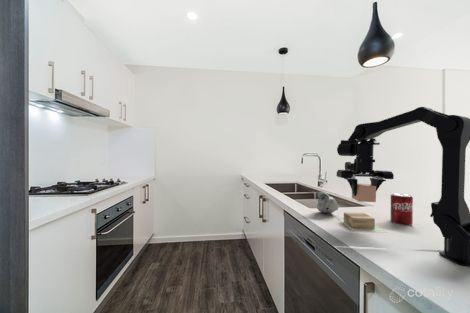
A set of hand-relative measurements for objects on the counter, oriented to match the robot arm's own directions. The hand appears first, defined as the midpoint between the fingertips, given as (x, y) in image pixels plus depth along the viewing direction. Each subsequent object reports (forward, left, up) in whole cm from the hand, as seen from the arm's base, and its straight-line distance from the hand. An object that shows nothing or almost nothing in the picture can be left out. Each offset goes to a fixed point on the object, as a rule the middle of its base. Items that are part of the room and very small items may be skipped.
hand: (363, 196), depth 81 cm
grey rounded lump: (+16, +8, -13) cm, 22 cm away
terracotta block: (0, 0, -2) cm, 2 cm away
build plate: (+2, 0, -13) cm, 13 cm away
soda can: (+7, -19, -13) cm, 24 cm away
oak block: (+1, +1, -12) cm, 12 cm away
